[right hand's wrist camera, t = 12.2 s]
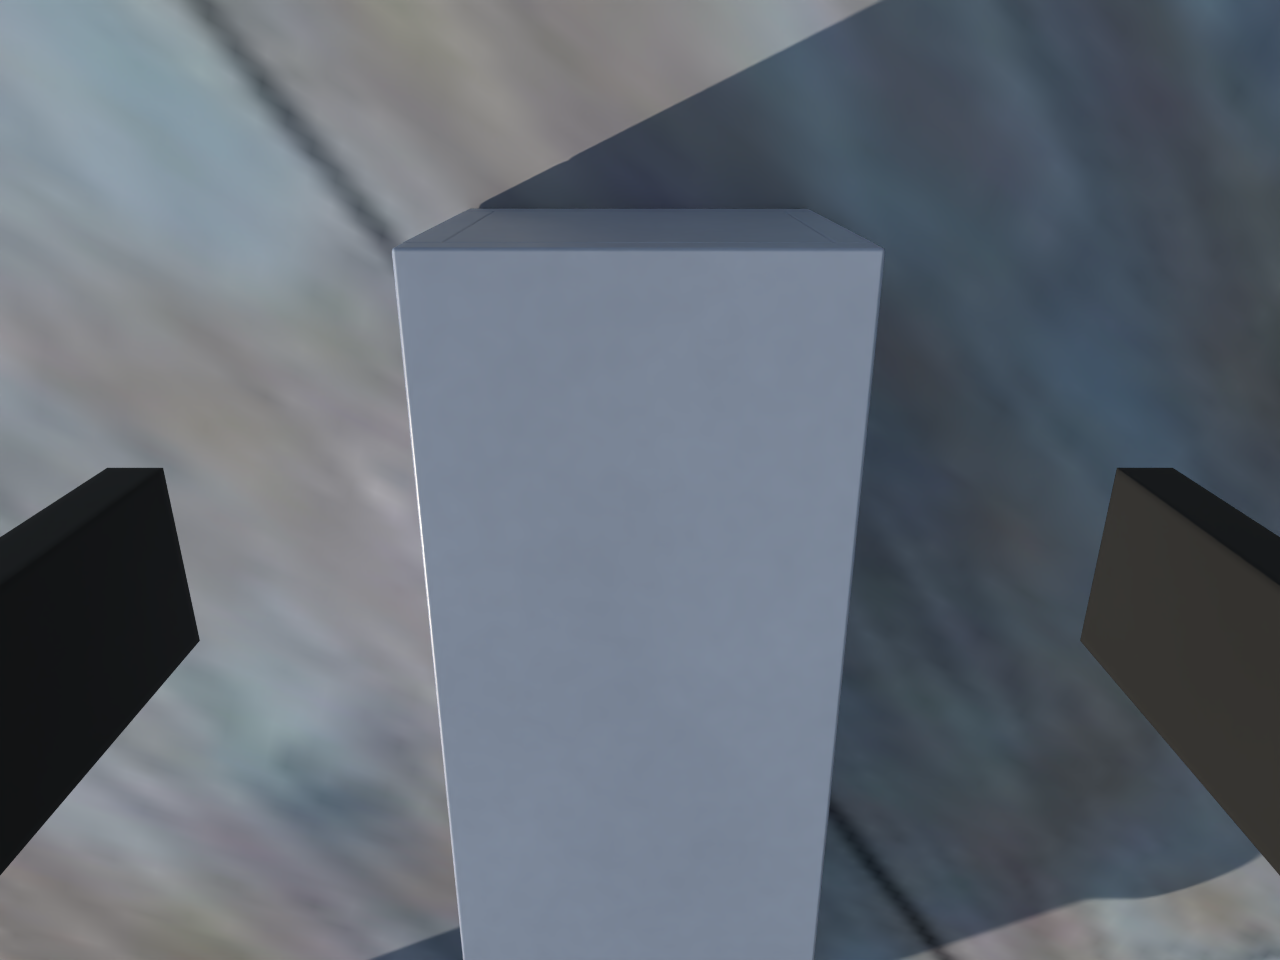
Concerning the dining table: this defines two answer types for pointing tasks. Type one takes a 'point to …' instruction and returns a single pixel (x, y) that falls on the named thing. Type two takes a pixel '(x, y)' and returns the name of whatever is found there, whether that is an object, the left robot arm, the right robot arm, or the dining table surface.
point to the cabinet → (638, 565)
